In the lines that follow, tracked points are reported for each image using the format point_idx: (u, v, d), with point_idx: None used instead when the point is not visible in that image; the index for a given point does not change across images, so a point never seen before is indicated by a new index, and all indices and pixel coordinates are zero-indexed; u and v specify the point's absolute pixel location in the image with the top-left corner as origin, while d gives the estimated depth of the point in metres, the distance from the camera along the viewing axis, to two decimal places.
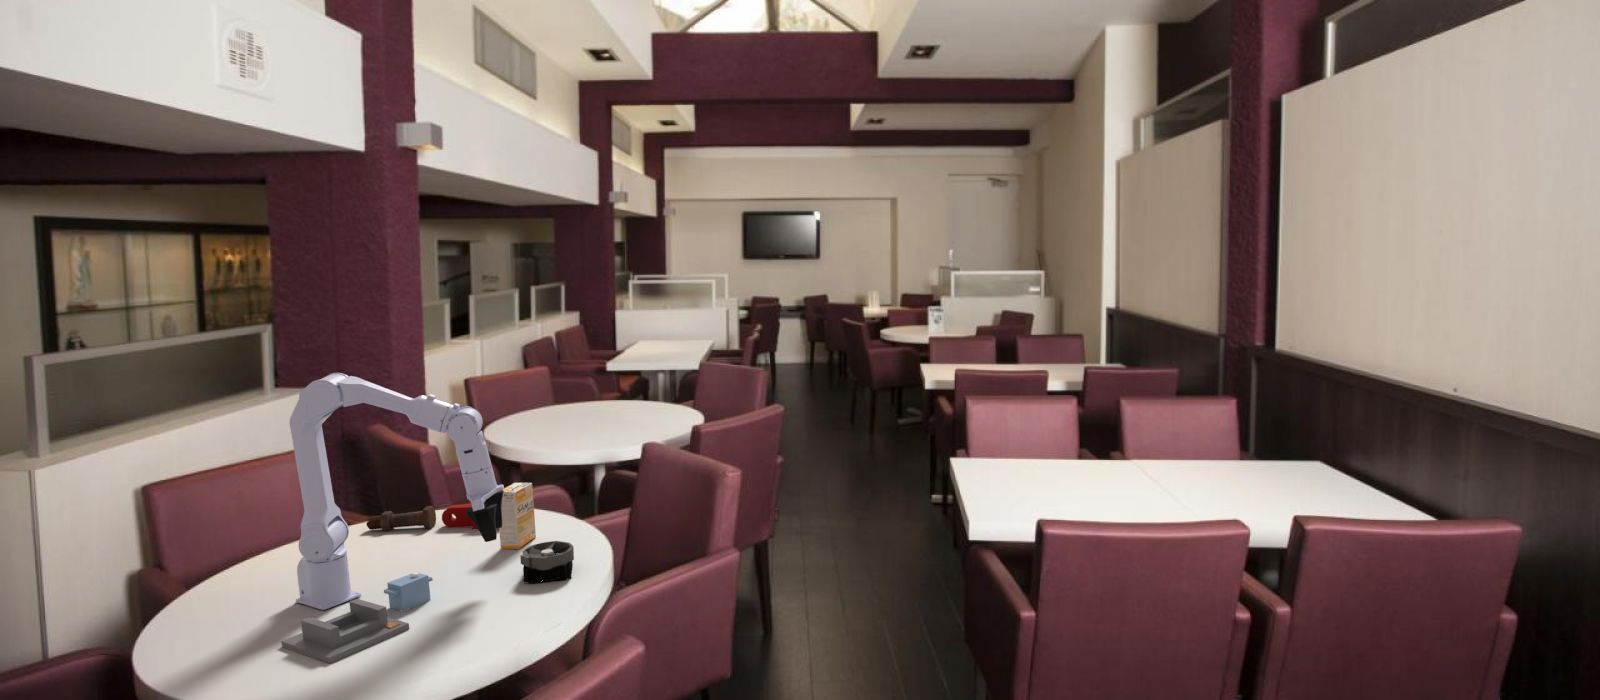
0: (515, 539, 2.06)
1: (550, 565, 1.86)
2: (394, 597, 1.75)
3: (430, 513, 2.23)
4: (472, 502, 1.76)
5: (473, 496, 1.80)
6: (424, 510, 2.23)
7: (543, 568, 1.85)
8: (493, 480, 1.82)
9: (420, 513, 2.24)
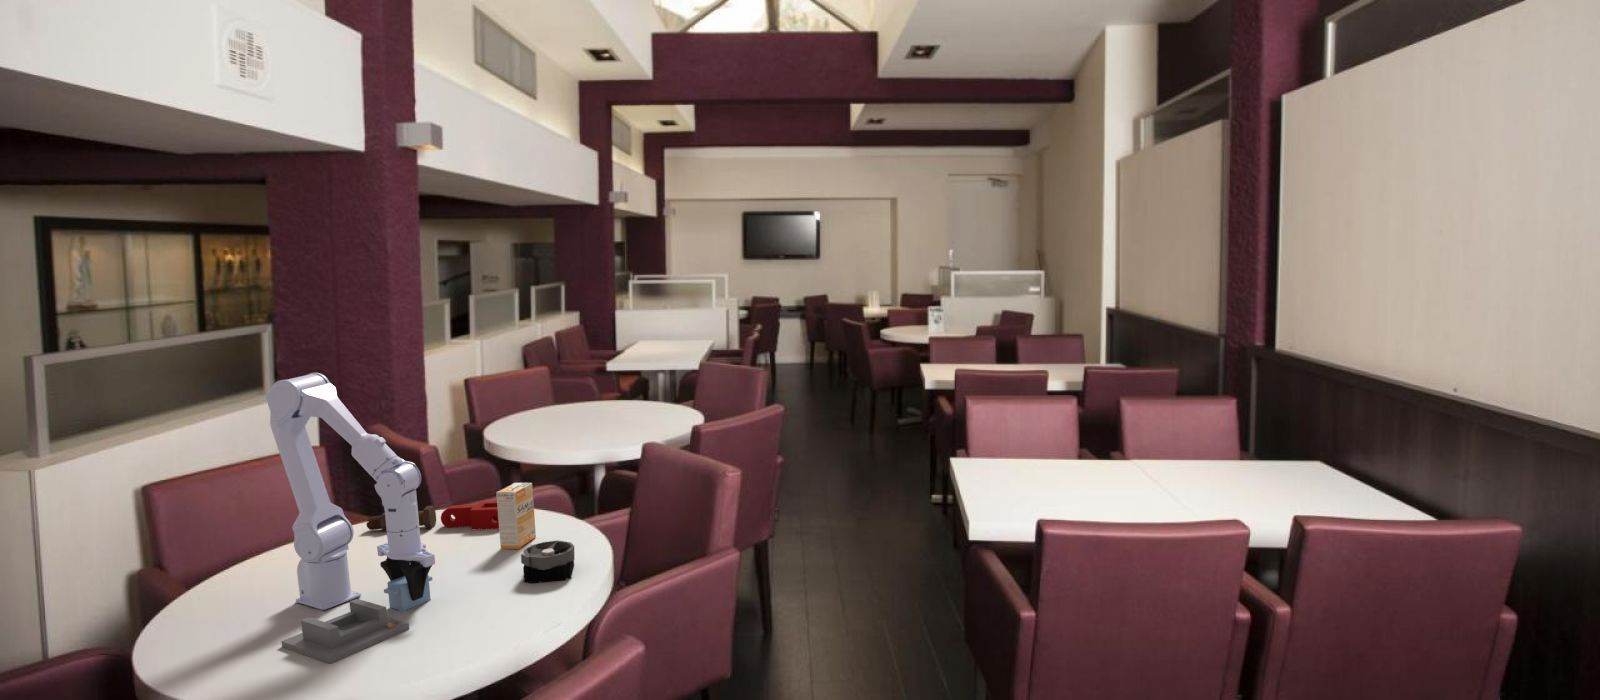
0: (515, 539, 2.06)
1: (550, 565, 1.86)
2: (394, 596, 1.75)
3: (430, 513, 2.24)
4: (426, 558, 1.72)
5: (408, 555, 1.74)
6: (425, 510, 2.23)
7: (543, 568, 1.85)
8: None
9: (420, 513, 2.24)
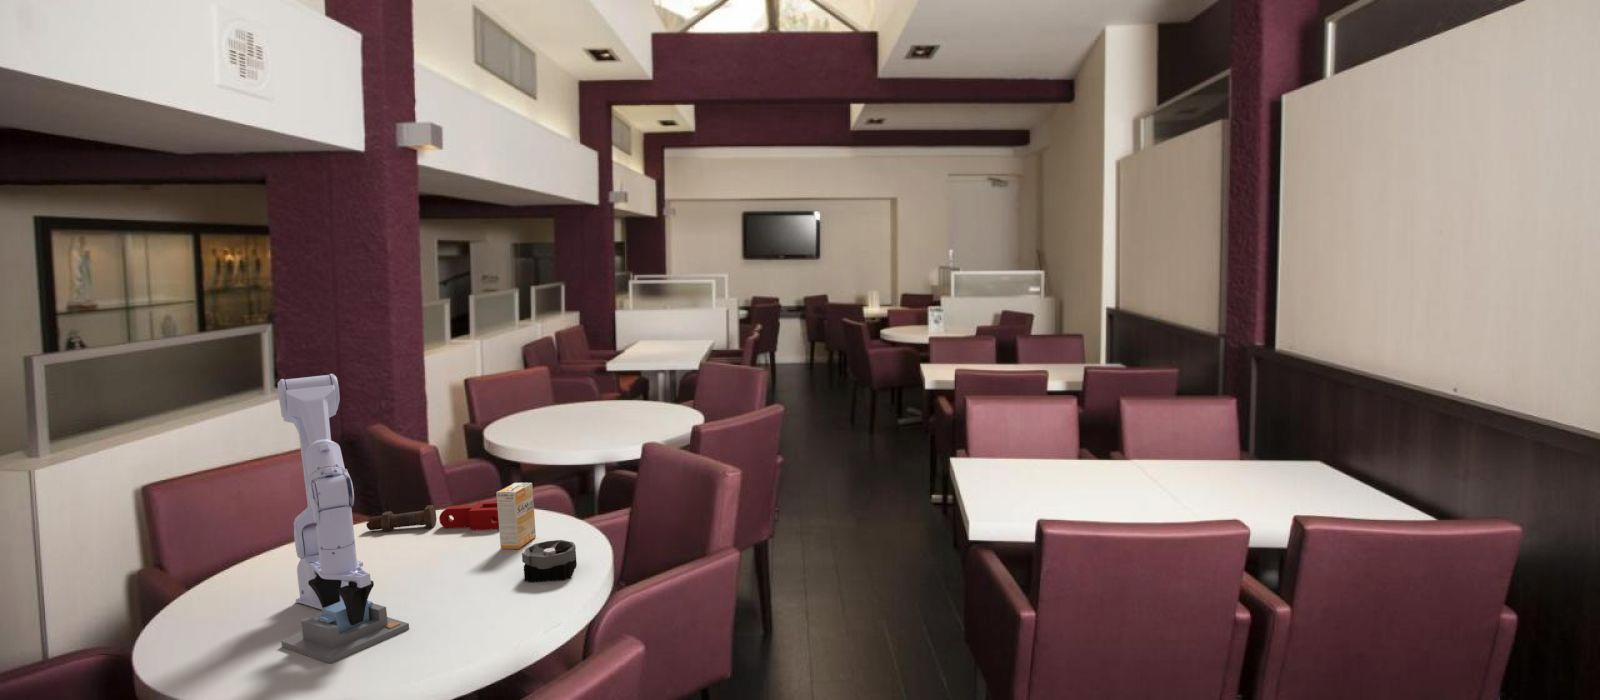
0: (515, 539, 2.06)
1: (549, 564, 1.86)
2: None
3: (431, 512, 2.24)
4: (360, 577, 1.58)
5: (341, 574, 1.60)
6: (426, 509, 2.23)
7: (542, 567, 1.86)
8: None
9: (421, 512, 2.24)
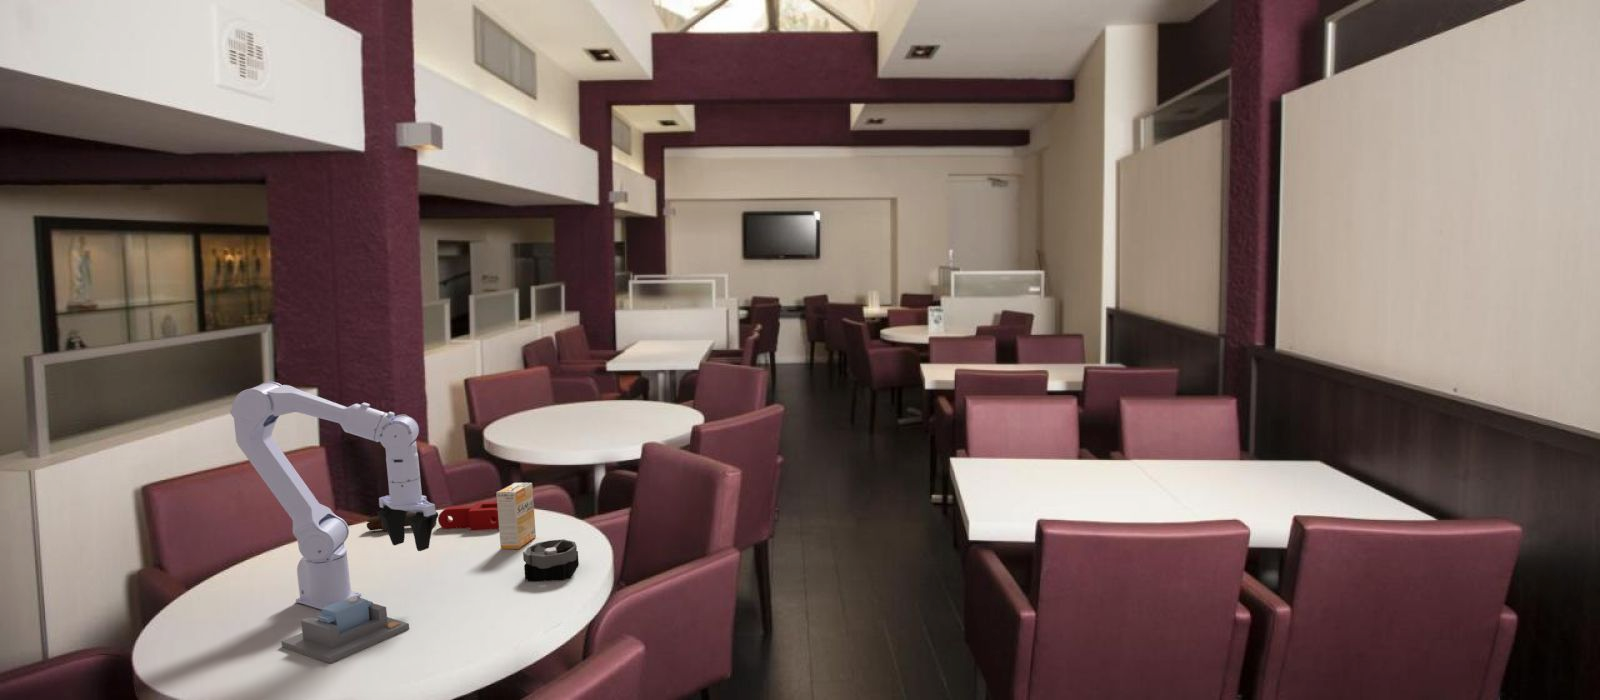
0: (515, 539, 2.06)
1: (549, 564, 1.86)
2: None
3: None
4: (427, 507, 1.77)
5: (409, 505, 1.78)
6: None
7: (542, 566, 1.86)
8: None
9: None
